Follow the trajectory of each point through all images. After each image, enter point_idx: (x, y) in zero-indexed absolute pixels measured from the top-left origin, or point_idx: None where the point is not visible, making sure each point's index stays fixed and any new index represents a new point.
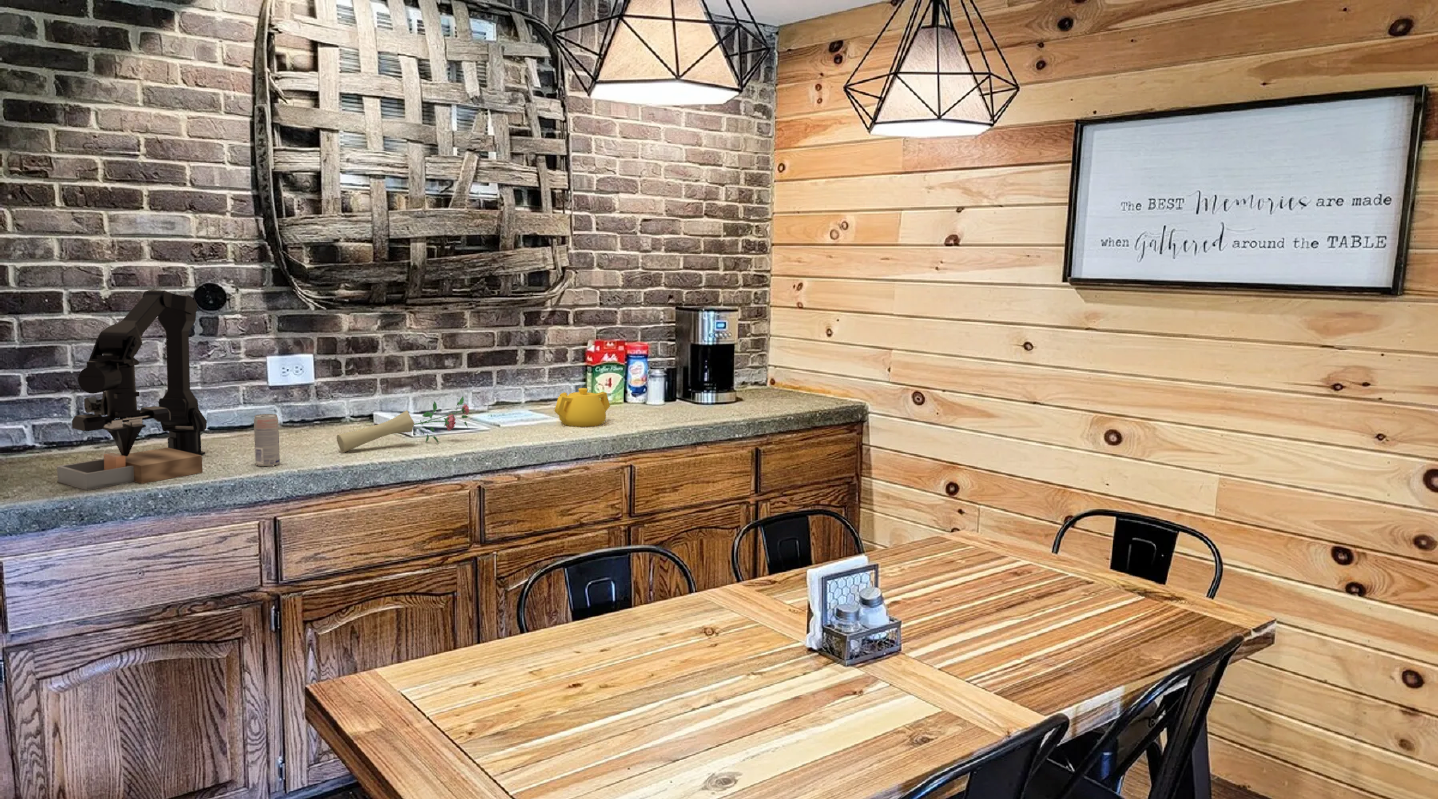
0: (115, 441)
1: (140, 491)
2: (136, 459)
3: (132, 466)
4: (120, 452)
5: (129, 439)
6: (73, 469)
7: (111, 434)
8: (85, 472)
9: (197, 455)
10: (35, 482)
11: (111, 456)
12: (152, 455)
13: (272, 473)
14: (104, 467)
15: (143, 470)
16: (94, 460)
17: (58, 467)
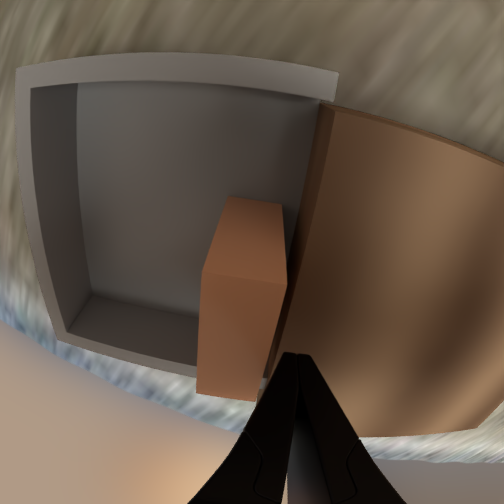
0: (236, 443)
1: (194, 411)
2: (360, 345)
3: (260, 387)
4: (274, 370)
5: (290, 497)
6: (37, 222)
7: (196, 501)
8: (61, 318)
9: (475, 423)
10: (31, 11)
11: (197, 357)
12: (470, 329)
13: (455, 451)
14: (220, 220)
15: None
16: (246, 68)
17: (18, 87)
